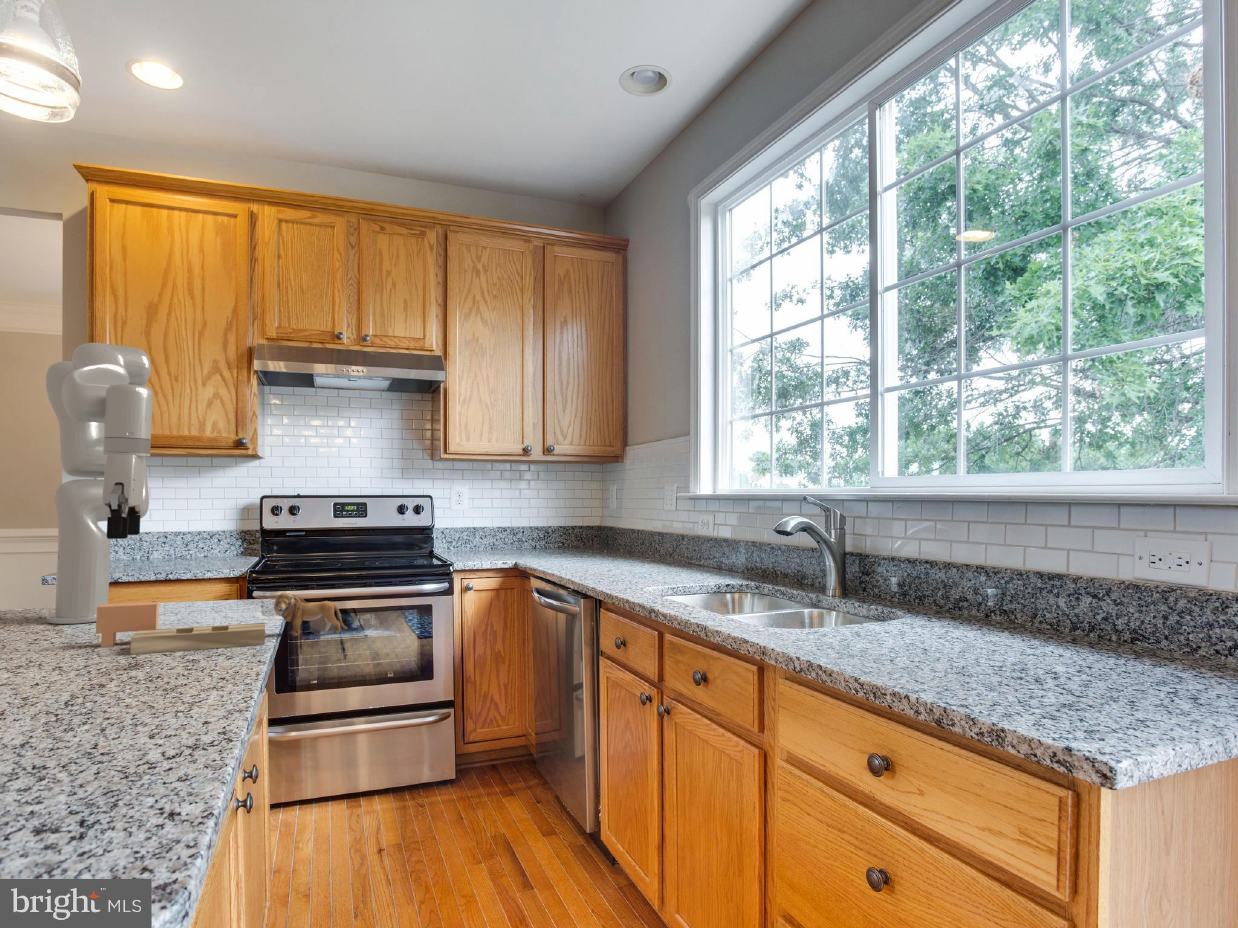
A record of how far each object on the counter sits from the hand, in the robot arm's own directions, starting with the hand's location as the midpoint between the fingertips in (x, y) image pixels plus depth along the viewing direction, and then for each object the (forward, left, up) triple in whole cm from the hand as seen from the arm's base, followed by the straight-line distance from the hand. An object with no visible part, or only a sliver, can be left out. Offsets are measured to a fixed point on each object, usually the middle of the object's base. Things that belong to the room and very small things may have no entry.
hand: (123, 536), depth 138 cm
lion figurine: (+2, +33, -21) cm, 40 cm away
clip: (-1, +1, -21) cm, 21 cm away
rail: (+6, +14, -21) cm, 26 cm away
